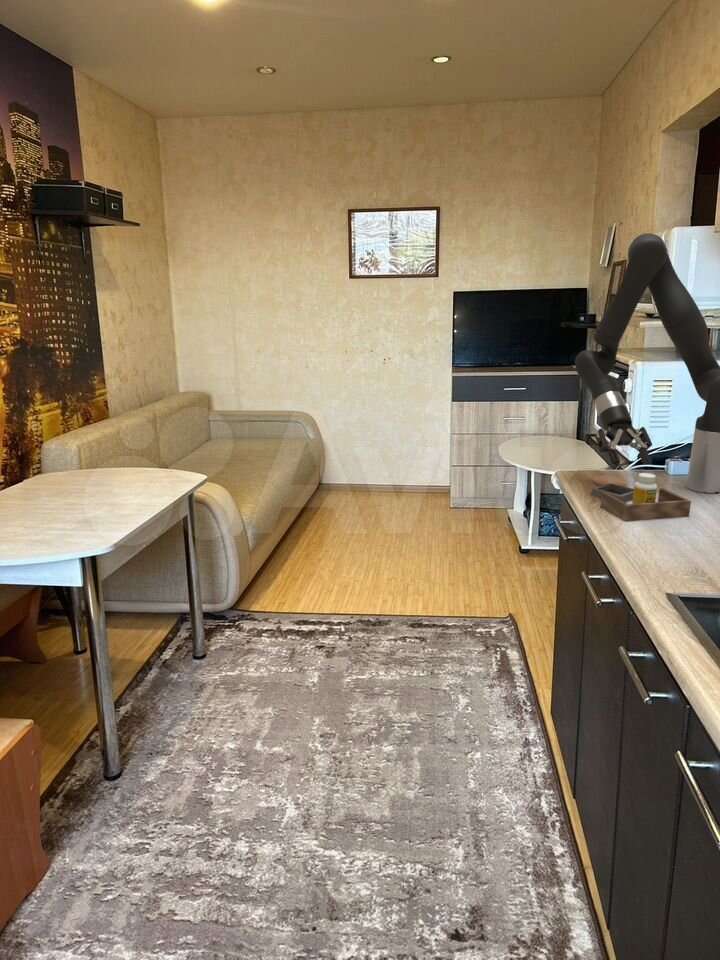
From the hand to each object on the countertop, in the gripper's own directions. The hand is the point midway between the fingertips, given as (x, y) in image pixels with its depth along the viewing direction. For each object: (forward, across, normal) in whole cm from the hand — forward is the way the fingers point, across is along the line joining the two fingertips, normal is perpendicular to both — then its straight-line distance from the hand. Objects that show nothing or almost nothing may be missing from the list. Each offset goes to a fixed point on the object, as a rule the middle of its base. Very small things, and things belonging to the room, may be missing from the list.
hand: (632, 463), depth 177 cm
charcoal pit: (+4, 0, +12) cm, 12 cm away
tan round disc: (-4, +6, +20) cm, 21 cm away
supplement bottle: (+12, 0, +3) cm, 13 cm away
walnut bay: (+12, 0, +3) cm, 13 cm away
